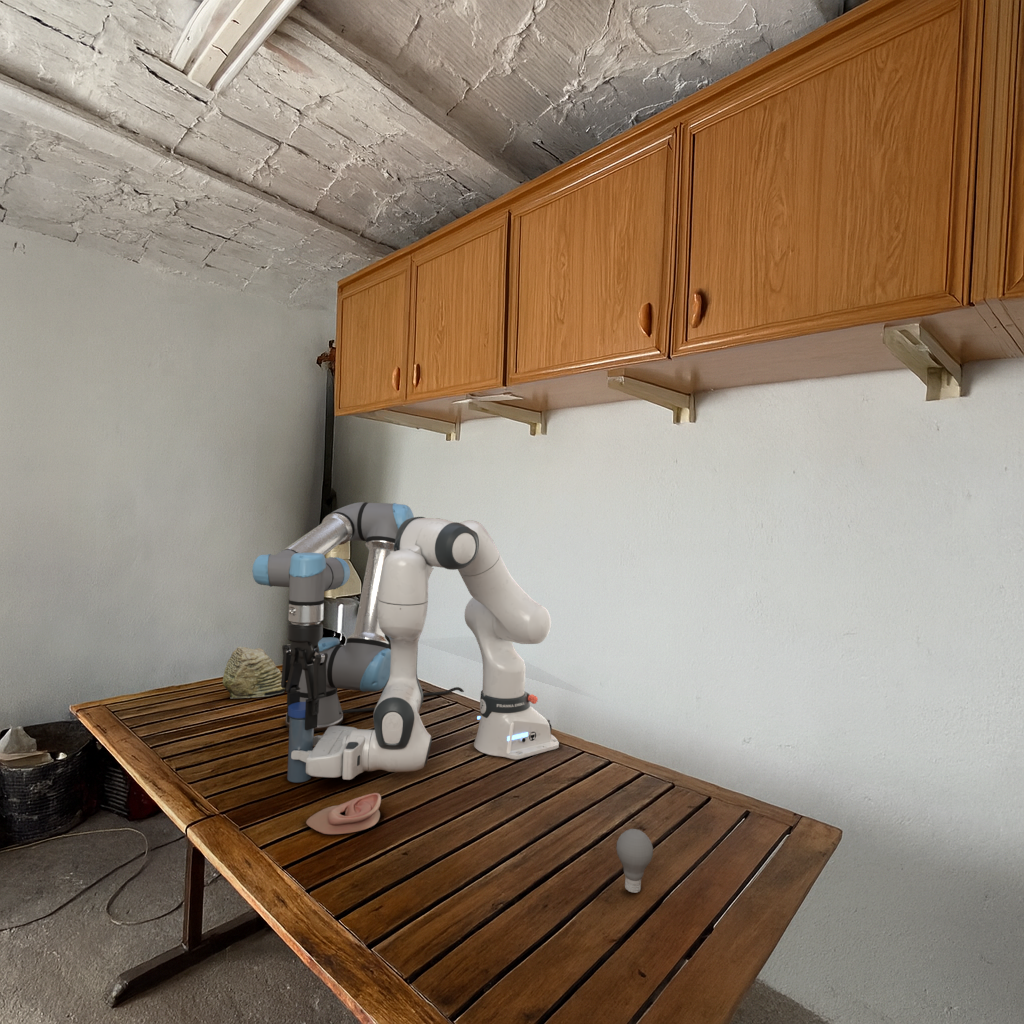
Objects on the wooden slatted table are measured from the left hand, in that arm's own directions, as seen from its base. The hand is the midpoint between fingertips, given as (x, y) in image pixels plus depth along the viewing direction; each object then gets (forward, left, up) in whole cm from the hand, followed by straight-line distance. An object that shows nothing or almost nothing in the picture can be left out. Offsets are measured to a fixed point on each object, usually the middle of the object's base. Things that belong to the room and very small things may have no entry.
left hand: (301, 724), depth 142 cm
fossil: (-23, -60, -12) cm, 66 cm away
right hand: (+1, -1, -5) cm, 5 cm away
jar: (0, 0, -12) cm, 12 cm away
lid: (0, 0, +4) cm, 4 cm away
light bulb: (-14, +76, -12) cm, 78 cm away
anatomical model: (+5, +23, -12) cm, 26 cm away
